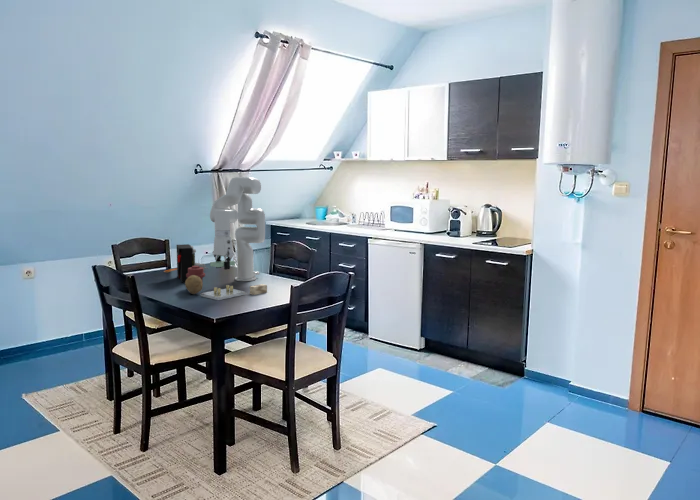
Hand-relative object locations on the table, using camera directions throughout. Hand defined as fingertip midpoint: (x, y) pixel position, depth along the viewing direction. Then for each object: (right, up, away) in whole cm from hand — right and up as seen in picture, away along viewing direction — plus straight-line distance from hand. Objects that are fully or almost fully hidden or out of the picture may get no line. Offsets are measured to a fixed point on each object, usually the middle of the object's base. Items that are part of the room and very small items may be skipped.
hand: (222, 268), depth 281 cm
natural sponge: (-16, -14, +5) cm, 22 cm away
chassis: (0, -14, +2) cm, 14 cm away
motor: (-40, -5, +69) cm, 80 cm away
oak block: (+17, -13, +9) cm, 23 cm away
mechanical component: (-19, -12, +19) cm, 29 cm away
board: (0, +1, 0) cm, 1 cm away
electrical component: (-32, -8, +43) cm, 54 cm away
